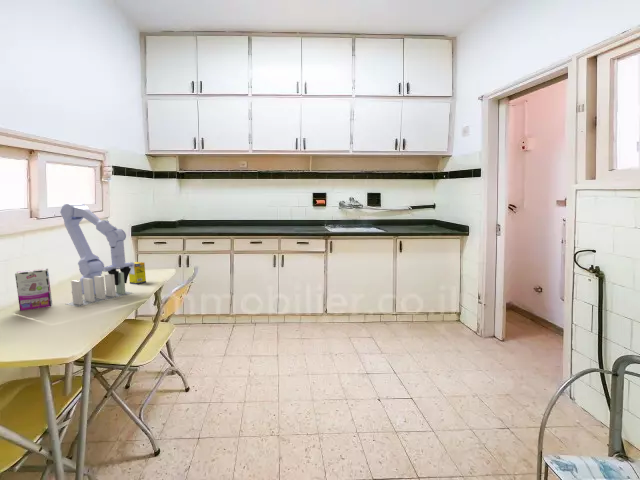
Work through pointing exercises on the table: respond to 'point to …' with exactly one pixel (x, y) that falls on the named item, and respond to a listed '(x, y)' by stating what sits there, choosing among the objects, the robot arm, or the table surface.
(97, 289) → the ivory domino
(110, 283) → the ivory domino
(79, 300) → the ivory domino
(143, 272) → the supplement box
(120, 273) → the sage domino
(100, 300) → the slate board
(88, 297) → the ivory domino
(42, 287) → the candy bar box
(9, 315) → the table surface
